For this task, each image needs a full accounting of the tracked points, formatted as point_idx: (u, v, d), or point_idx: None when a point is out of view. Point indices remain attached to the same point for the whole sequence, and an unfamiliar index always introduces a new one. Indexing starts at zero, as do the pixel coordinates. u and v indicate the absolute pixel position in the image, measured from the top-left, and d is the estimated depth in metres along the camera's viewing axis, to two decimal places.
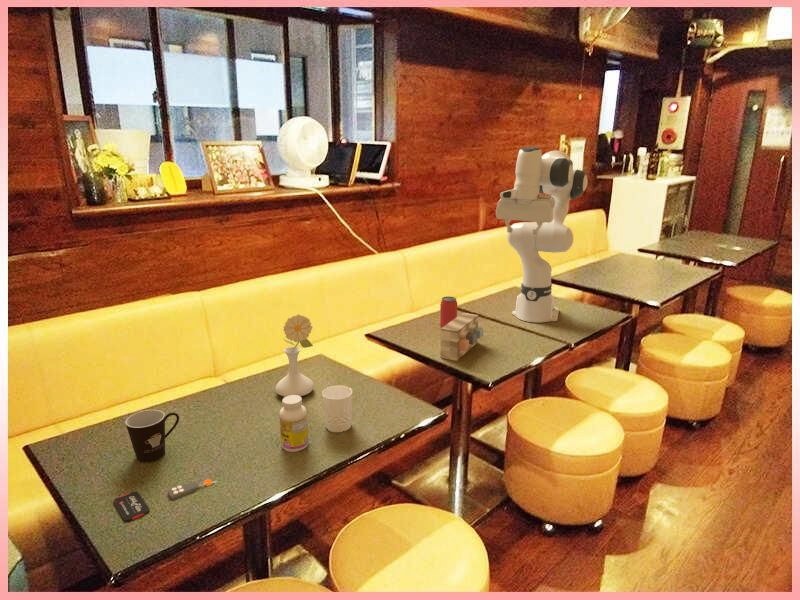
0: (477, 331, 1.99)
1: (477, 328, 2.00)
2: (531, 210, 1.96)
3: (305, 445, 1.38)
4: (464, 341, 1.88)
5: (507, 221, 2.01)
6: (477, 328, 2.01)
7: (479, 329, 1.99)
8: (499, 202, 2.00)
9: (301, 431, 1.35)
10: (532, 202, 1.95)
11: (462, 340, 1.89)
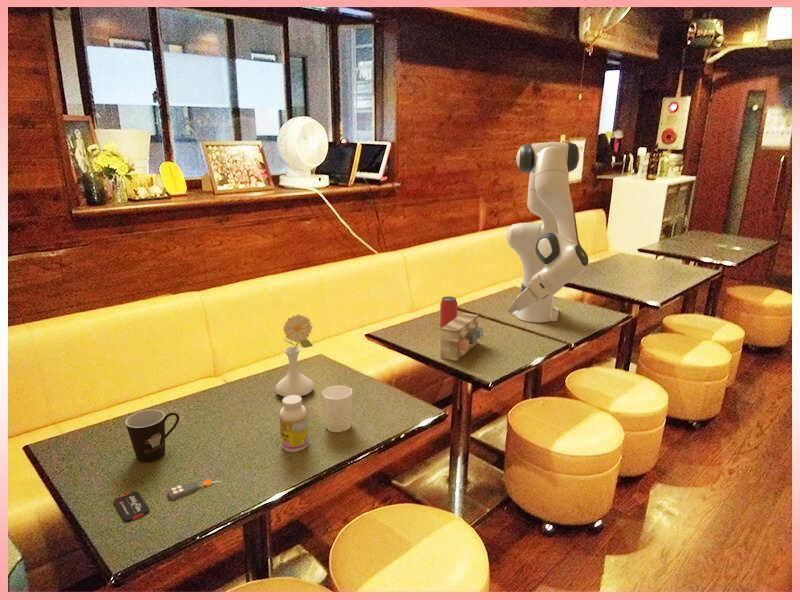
0: (477, 331, 1.99)
1: (477, 328, 2.00)
2: None
3: (305, 445, 1.38)
4: (464, 341, 1.88)
5: None
6: (477, 328, 2.01)
7: (479, 329, 1.99)
8: (533, 302, 1.77)
9: (301, 431, 1.35)
10: None
11: (462, 340, 1.89)
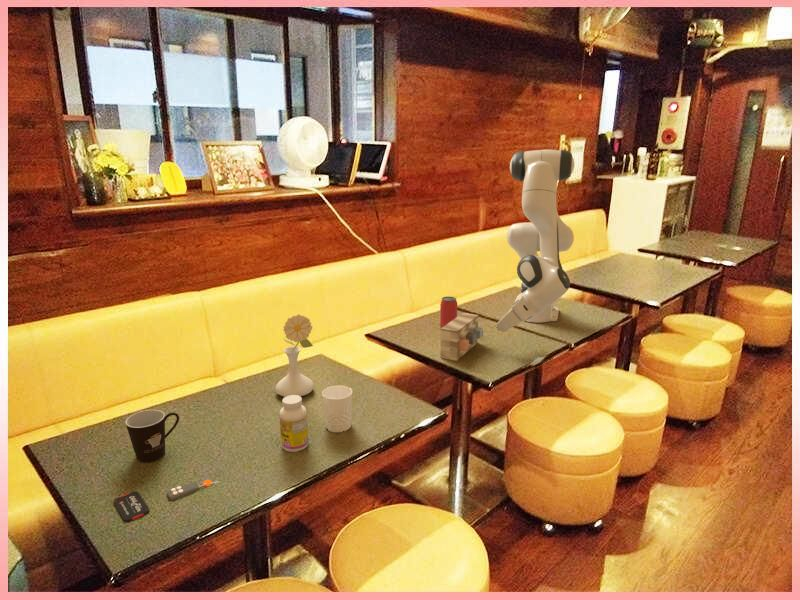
0: (477, 331, 1.99)
1: (477, 328, 2.00)
2: None
3: (305, 445, 1.38)
4: (464, 341, 1.88)
5: None
6: (477, 328, 2.01)
7: (479, 329, 1.99)
8: (517, 323, 1.82)
9: (301, 431, 1.35)
10: None
11: (462, 340, 1.89)
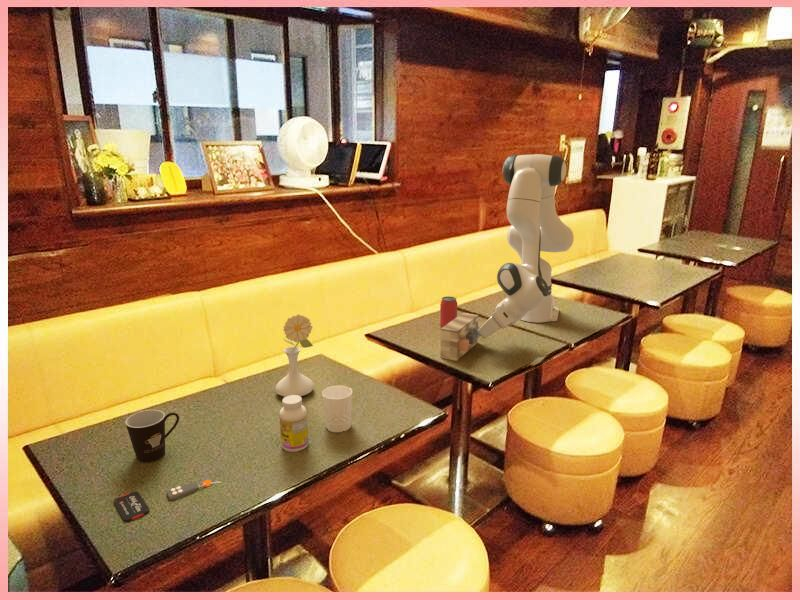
0: (474, 330, 1.99)
1: None
2: None
3: (305, 445, 1.38)
4: (464, 341, 1.88)
5: None
6: (475, 327, 2.01)
7: (477, 329, 2.00)
8: (497, 330, 1.87)
9: (301, 431, 1.35)
10: None
11: (462, 340, 1.89)
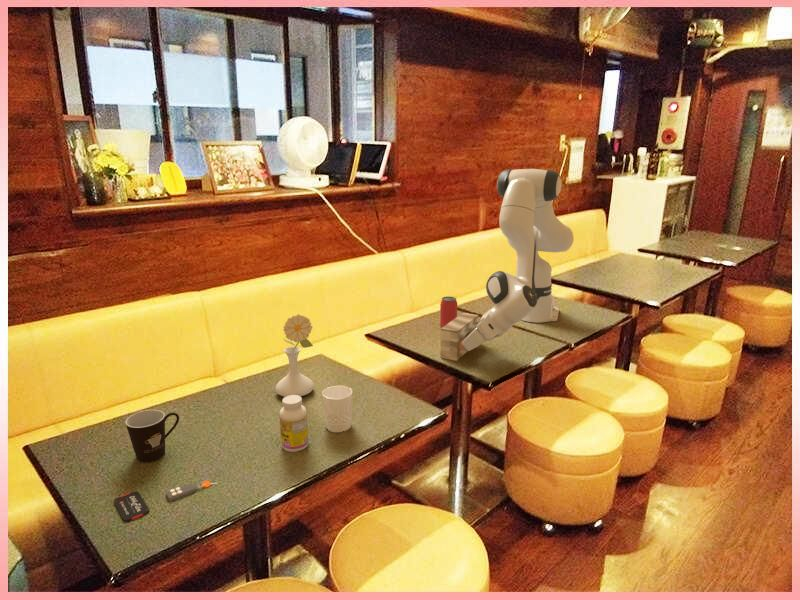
0: None
1: None
2: None
3: (305, 445, 1.38)
4: (461, 340, 1.89)
5: None
6: None
7: None
8: None
9: (301, 431, 1.35)
10: None
11: None
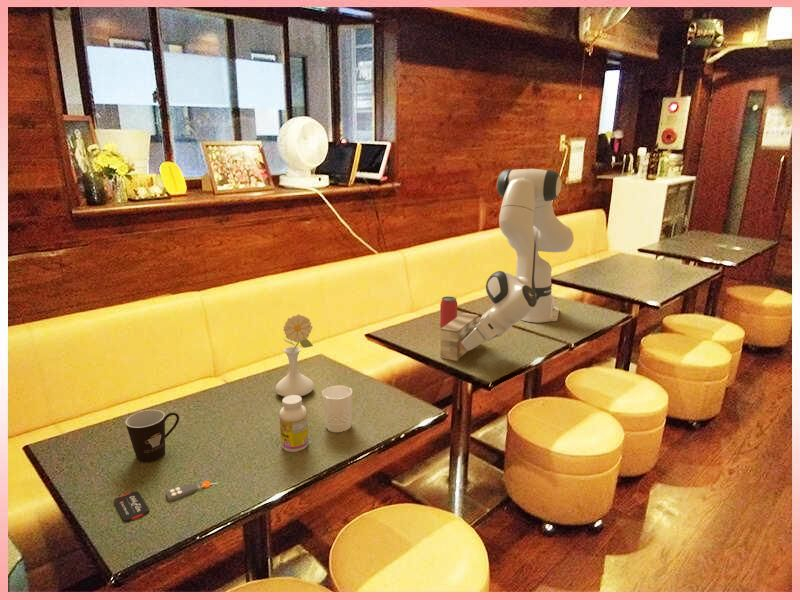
0: None
1: None
2: None
3: (305, 445, 1.38)
4: (460, 340, 1.89)
5: None
6: None
7: None
8: (482, 342, 1.76)
9: (301, 431, 1.35)
10: None
11: None
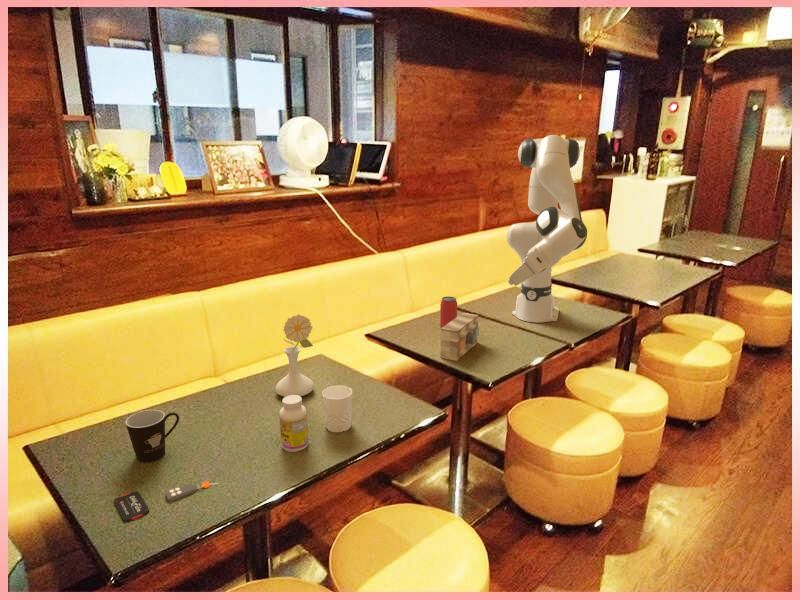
0: (473, 330, 1.99)
1: None
2: None
3: (305, 445, 1.38)
4: (460, 340, 1.89)
5: None
6: None
7: (475, 328, 2.00)
8: (530, 276, 1.75)
9: (301, 431, 1.35)
10: None
11: None
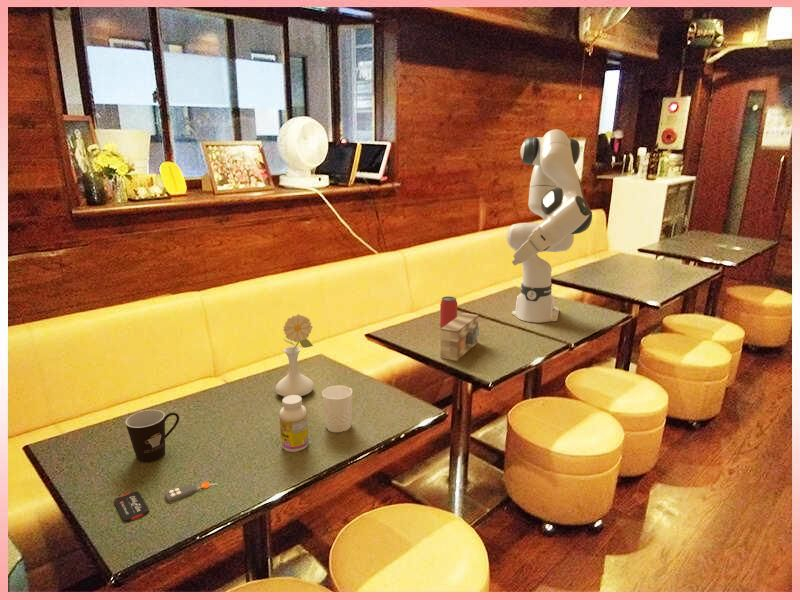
0: (473, 330, 1.99)
1: None
2: None
3: (305, 445, 1.38)
4: (460, 340, 1.89)
5: None
6: None
7: (475, 328, 2.00)
8: (534, 254, 1.76)
9: (301, 431, 1.35)
10: None
11: None
